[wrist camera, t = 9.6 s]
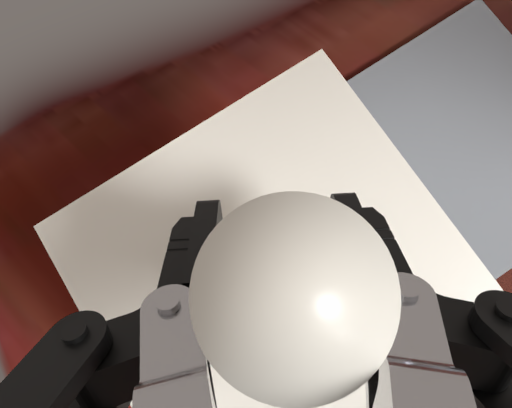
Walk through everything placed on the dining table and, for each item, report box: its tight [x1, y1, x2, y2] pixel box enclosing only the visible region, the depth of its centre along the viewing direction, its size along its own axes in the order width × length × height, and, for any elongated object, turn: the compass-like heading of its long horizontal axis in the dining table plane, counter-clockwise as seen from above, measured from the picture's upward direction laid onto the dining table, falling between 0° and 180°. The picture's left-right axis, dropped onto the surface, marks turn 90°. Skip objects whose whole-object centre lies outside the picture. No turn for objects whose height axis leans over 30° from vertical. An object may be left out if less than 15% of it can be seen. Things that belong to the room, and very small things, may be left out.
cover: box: [33, 49, 503, 408], centre depth 11 cm, size 15×15×10 cm
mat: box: [346, 0, 512, 279], centre depth 27 cm, size 17×17×1 cm
